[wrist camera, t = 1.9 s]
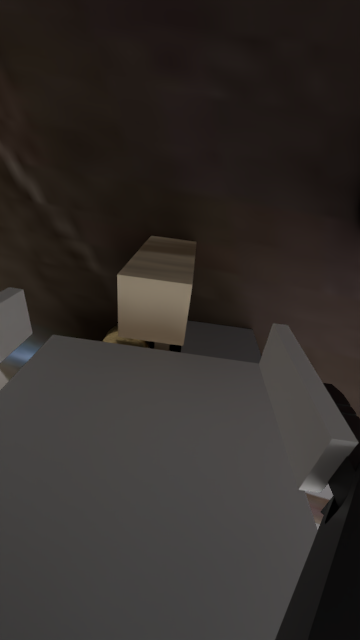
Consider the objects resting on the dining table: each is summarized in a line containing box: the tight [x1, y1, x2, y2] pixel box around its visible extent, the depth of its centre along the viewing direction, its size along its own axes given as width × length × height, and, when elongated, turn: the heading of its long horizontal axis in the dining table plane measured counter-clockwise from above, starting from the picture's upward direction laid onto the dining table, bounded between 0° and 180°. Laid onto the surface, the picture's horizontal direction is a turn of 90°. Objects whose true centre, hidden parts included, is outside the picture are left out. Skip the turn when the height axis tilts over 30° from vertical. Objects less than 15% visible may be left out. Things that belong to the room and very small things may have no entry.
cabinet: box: [0, 320, 318, 640], centre depth 20 cm, size 12×19×22 cm, turn 83°
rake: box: [117, 236, 197, 351], centre depth 22 cm, size 20×10×10 cm, turn 174°
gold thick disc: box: [102, 325, 150, 348], centre depth 27 cm, size 5×5×2 cm
